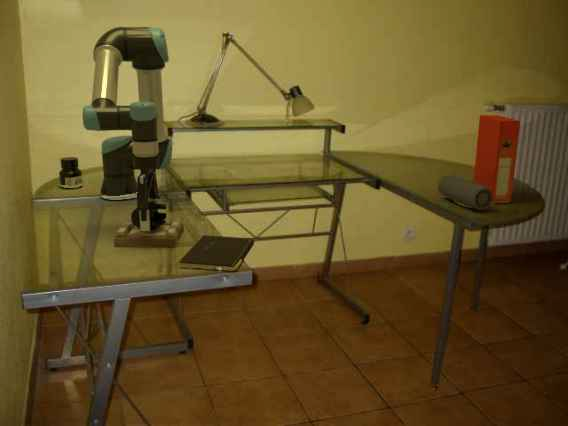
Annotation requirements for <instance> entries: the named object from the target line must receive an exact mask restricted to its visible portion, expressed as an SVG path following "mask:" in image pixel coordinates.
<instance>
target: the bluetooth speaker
mask: <svg viewBox="0 0 568 426" xmlns="http://www.w3.org/2000/svg"><path fill="white" fill-rule="evenodd" d="M437 189H438V192H439V193H440V194H441V195H442V196H444V197H446V198H449V200H452V201H453V200H454V201H456V202H459V203H461V204H464V205H466V206H469V207H472V208H471V209H476V210H479V211H481V210H486V209H488V208H489V207H490V206H491V205H492V204H491V203H492V200H493V195H492V192H491V190H490V189H488V188H486V187H484V186H482V185H480V184H477V183H475V182H473V181H472V180H469V179H468V178H467V179H466V178H463V177H460V176H456V175H452V174H445V175H443V176H442V177H441V178H440V180H439V182H438V184H437Z"/></svg>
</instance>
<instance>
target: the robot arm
mask: <svg viewBox="0 0 568 426" xmlns="http://www.w3.org/2000/svg"><path fill="white" fill-rule="evenodd" d="M92 57H93V61H94V75H93V85H92V86H93V87H92V94H91V104H90V105H85V106H83V107H82V124H83V127H84V129H85V131H86V130H87V131H93V132H94V131H95V132H96V131H97V132H101V131H103V132H105V131H106V132H107V131H109V132H110V131H131V135H130V134H129V135H118V136H112V137H108V138H105V139H103V141H102V142H101V152H100V153H101V156H102V157H101V159H102V172H103V180H102V182H101V186H100V187H101V188H100V192H99V194H101V195H107V196H120V195H125V194H132V193H136V192H138V193H137V198H136V199H137V202H136V203H137V204H136V208H135V209H136V210H139V213H140V229H141V231H150V219H149V210H148V202H150V201H155V203H157V204H159V203H158V199H159V200H160V198H161V195H160V193H159V187H158V180H157V172H156V171H157V170H163V169H165V170H166V169H169V168H170V167H171V163H172V154H173V141H174V140H173V139H172V138H170V137H169V134H168V133H167V132H166V131H165V122H164V121H165V119H164V101H163V99H164V98H163V82H162V81H163V80H162V71H163V70H164V69H165V68H166V63H168V62H169V61H170V58H169V57H170V56H169V51H168V44H167V40H166V34H165V32H164V29H162V28H160V27H152V26H148V27H147V26H136V27H135V26H127V27H126V26H117V27H114V28H111V29H109V30H107V31H106V32H104V33H103V34H102V35H101V36H100V37H99V38H98V40H97V41H96V44H95V45H94V47H93V51H92ZM123 62H125V63H126V62H128V63H129V62H130V63H131V67H132V69H134V70H135V71H136V77H137V87H138V88H137V90H138V92H137V93H138V101H133V102H131V103H130V105H117V104H118V91H119V90H118V88H119V87H118V85H119V71H120V70H119V69H120V66H121V65H122V63H123ZM135 170H137V171H138V170H140V171H139V173H140V174H138V176H137V177H136V175H135ZM136 178H137V179H136ZM101 195H100V196H101Z"/></svg>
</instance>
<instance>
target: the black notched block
mask: <svg viewBox="0 0 568 426" xmlns="http://www.w3.org/2000/svg"><path fill="white" fill-rule="evenodd" d="M157 203H158V202H157ZM157 203H155V201H150V202H148V210H149V219H150V231H154V230H156V229H157V228H159V227H160V226H162V225H163V224H165V223H167V213H166V212H159V210H164V211H165V210H167V205H166V203H165V204H164V203H158V204H157ZM130 220H132V223H133V224H134V225H135V226H136V227H138V228H139V229H140V213H139V210H136V208H135V209H134V210H132V212H131V215H130Z"/></svg>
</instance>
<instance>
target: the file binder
mask: <svg viewBox="0 0 568 426" xmlns="http://www.w3.org/2000/svg"><path fill="white" fill-rule="evenodd" d="M520 127H521V120H519V119H516V118H515V119H514V118H511V117H506V116H504V115H499V114H483V115H482V114H481V115H479V121H478V131H477V132H478V133H477V141H476V142H477V143H476V153H475V163H474V173H473V181H472V182H475V183H477V184H480V185H482V186H484V187H486V188H488V189H490V190H491V192H492V195H493V200H492V202H501V201H511V202H512V198H513V197H512V195H513V187H514V178H515V170H516V169H515V168H516V163H517V161H516V160H517V151H518V146H519V135H520Z"/></svg>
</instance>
